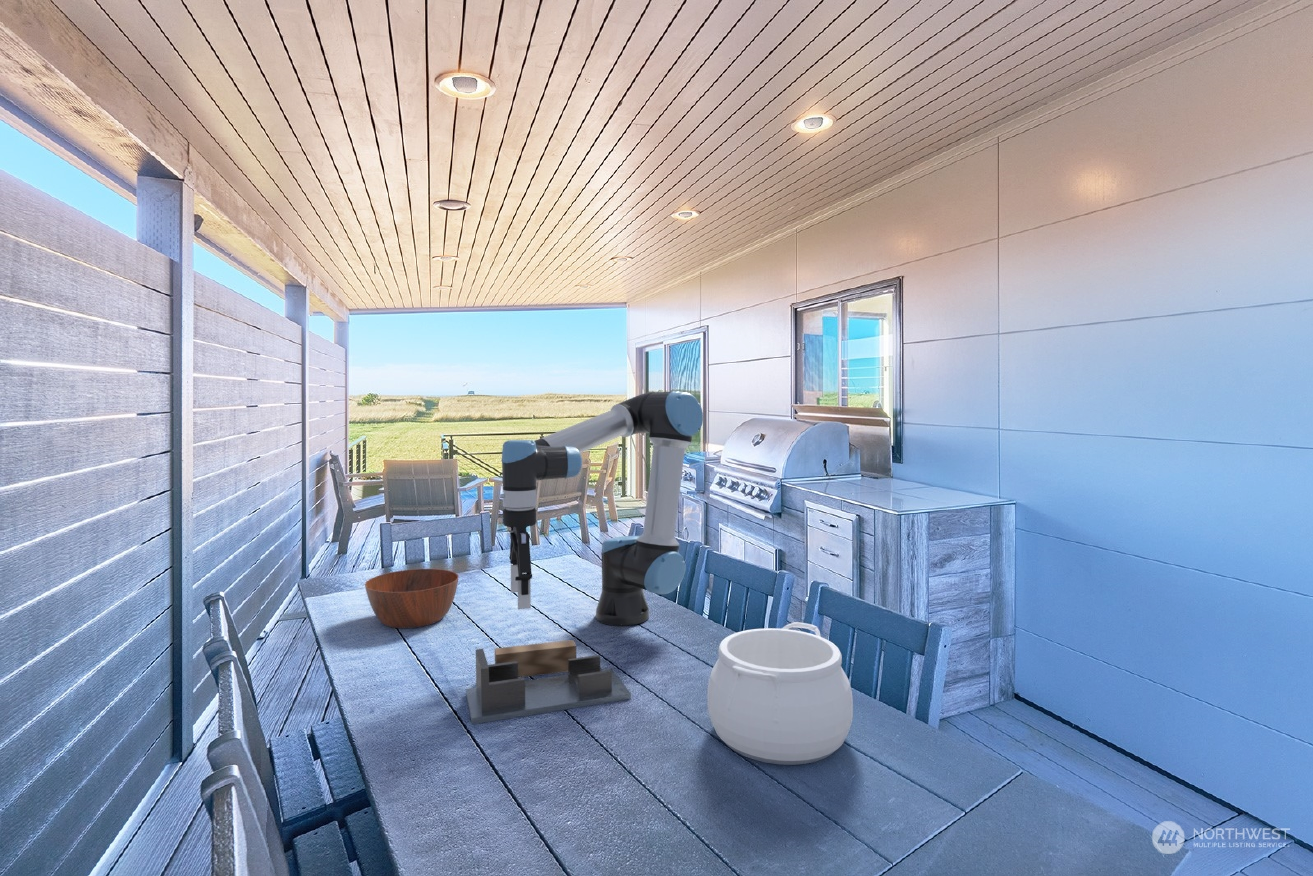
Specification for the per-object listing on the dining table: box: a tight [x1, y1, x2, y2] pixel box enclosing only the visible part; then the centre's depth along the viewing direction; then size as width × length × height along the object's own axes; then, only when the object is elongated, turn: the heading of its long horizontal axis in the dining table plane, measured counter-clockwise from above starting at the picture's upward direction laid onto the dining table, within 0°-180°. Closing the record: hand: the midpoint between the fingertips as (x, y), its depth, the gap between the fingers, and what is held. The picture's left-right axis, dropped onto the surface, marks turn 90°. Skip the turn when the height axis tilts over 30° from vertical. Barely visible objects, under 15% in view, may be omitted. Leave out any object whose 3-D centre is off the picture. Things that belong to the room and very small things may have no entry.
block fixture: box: [465, 648, 632, 725], centre depth 142 cm, size 32×14×10 cm, turn 110°
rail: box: [494, 639, 577, 678], centre depth 155 cm, size 18×4×6 cm, turn 107°
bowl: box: [364, 568, 460, 629], centre depth 192 cm, size 25×25×11 cm
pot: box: [706, 621, 854, 766], centre depth 125 cm, size 29×26×17 cm
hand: (520, 600), depth 156 cm, fingers open, 13 cm apart
